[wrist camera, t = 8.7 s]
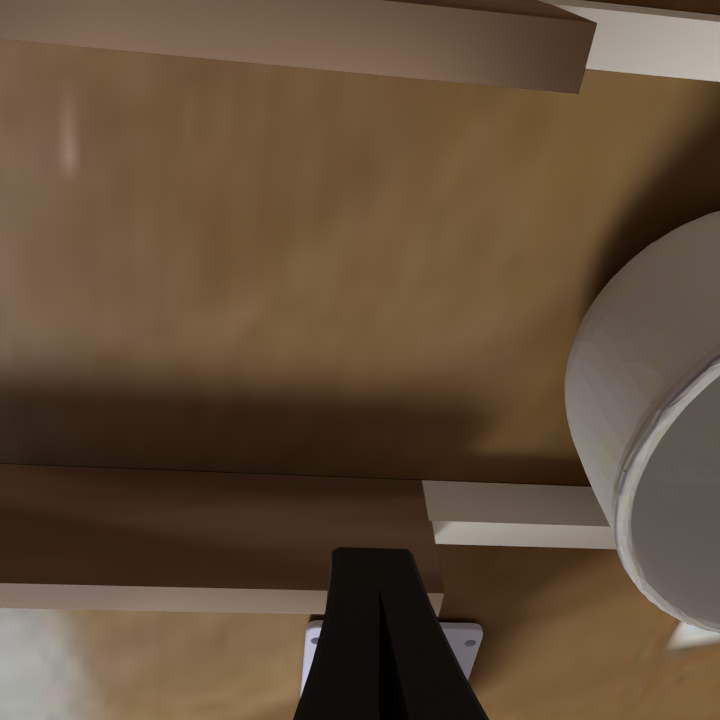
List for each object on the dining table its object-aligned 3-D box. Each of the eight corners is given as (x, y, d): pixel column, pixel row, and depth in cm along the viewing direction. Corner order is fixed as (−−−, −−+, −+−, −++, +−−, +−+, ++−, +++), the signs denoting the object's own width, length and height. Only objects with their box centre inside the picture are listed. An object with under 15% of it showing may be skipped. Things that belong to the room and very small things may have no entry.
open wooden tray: (419, 502, 26) (438, 616, 21) (-263, 478, 23) (-388, 600, 19) (526, -6, 16) (597, 23, 12) (-623, -131, 14) (-1035, -150, 9)
